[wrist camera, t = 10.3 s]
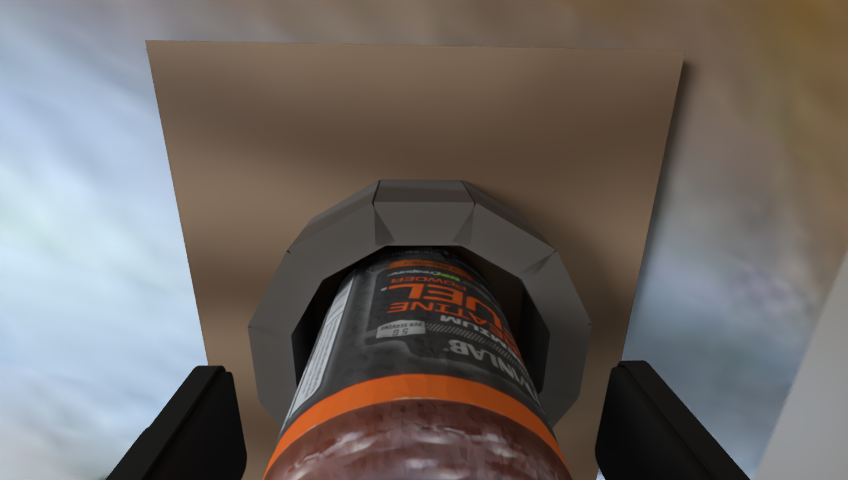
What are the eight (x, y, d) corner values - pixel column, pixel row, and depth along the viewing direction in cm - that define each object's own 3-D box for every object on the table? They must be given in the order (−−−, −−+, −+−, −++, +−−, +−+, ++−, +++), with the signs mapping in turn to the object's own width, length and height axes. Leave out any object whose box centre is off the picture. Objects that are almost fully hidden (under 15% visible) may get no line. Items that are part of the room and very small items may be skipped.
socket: (164, 44, 13) (62, 23, 9) (665, 53, 13) (766, 38, 10) (242, 476, 19) (201, 572, 15) (585, 468, 19) (627, 558, 16)
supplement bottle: (518, 258, 15) (821, 708, 4) (464, 390, 16) (570, 940, 6) (353, 212, 14) (169, 624, 3) (316, 357, 16) (122, 924, 5)
